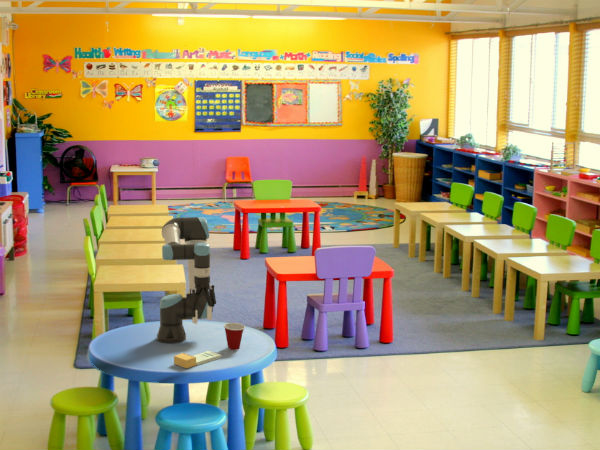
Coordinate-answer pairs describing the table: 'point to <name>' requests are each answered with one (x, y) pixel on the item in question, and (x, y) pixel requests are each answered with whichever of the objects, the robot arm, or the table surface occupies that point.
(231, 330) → the plastic cup
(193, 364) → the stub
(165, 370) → the table surface
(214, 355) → the pale green flat block
